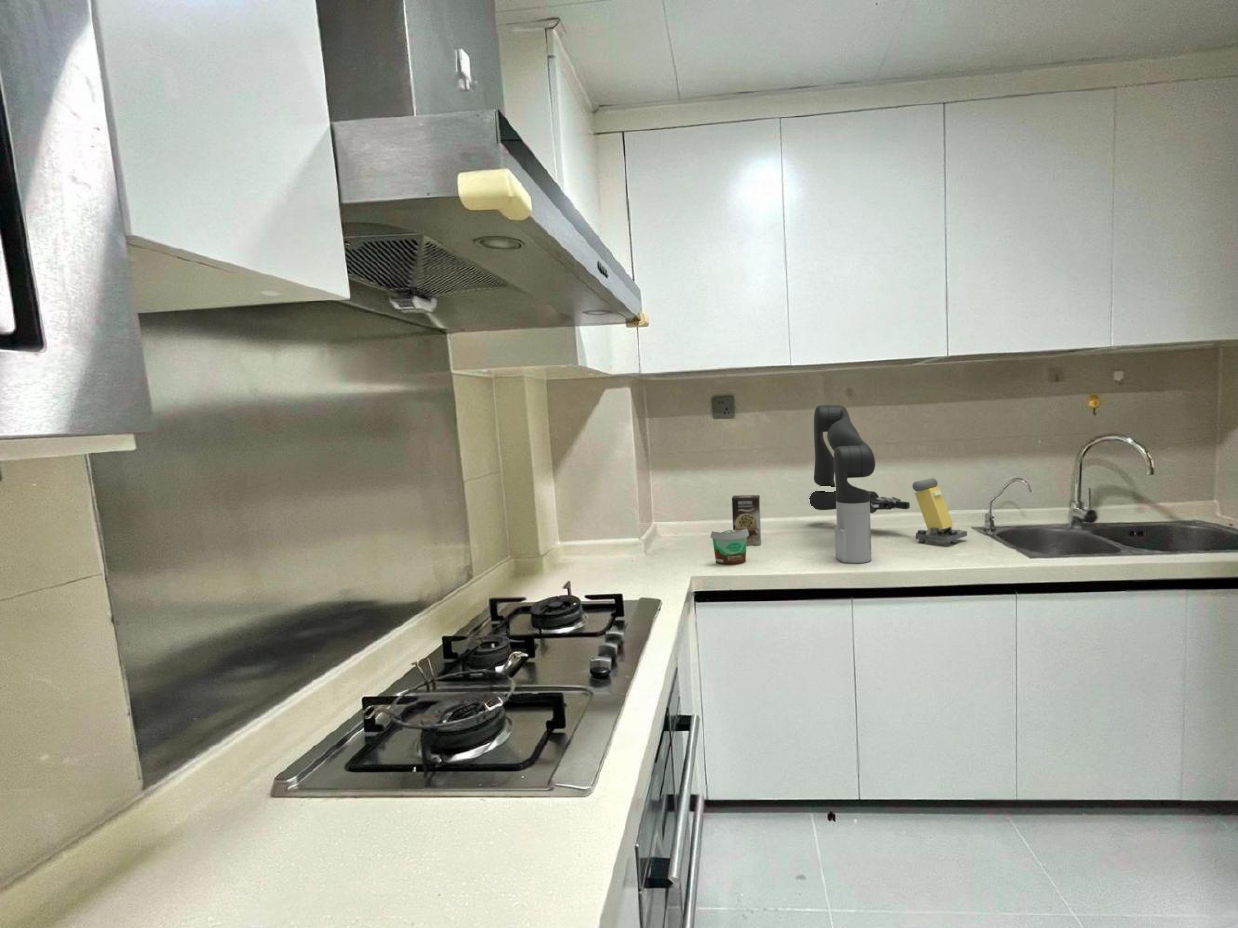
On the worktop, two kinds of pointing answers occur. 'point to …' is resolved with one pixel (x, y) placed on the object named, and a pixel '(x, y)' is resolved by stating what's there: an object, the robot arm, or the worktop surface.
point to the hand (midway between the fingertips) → (908, 505)
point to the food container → (730, 546)
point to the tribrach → (940, 535)
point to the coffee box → (747, 516)
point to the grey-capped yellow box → (932, 505)
